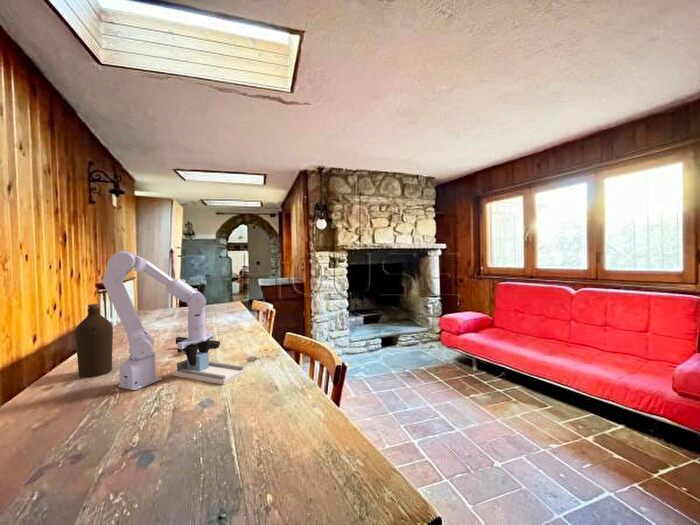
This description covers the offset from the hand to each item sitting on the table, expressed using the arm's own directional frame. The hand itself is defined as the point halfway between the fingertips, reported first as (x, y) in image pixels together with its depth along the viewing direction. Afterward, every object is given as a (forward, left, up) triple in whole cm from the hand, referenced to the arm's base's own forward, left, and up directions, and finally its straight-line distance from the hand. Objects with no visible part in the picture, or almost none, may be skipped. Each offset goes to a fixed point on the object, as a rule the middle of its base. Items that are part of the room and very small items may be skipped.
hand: (197, 363), depth 112 cm
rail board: (0, -5, -3) cm, 6 cm away
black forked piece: (+19, +23, -4) cm, 30 cm away
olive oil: (-13, +35, -4) cm, 38 cm away
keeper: (0, 0, -2) cm, 2 cm away
